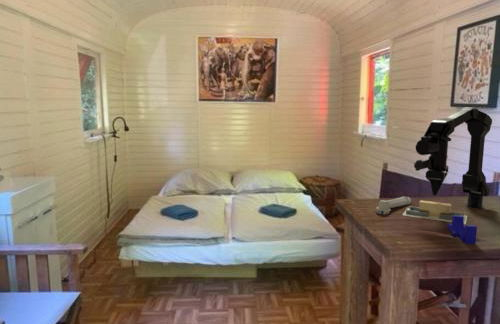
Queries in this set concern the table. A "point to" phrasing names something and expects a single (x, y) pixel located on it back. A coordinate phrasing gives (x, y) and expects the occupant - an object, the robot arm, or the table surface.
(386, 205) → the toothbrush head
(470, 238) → the cable clip
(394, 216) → the table surface
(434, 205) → the link bar
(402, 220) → the table surface
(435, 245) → the table surface
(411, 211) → the chain end links
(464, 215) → the base board
